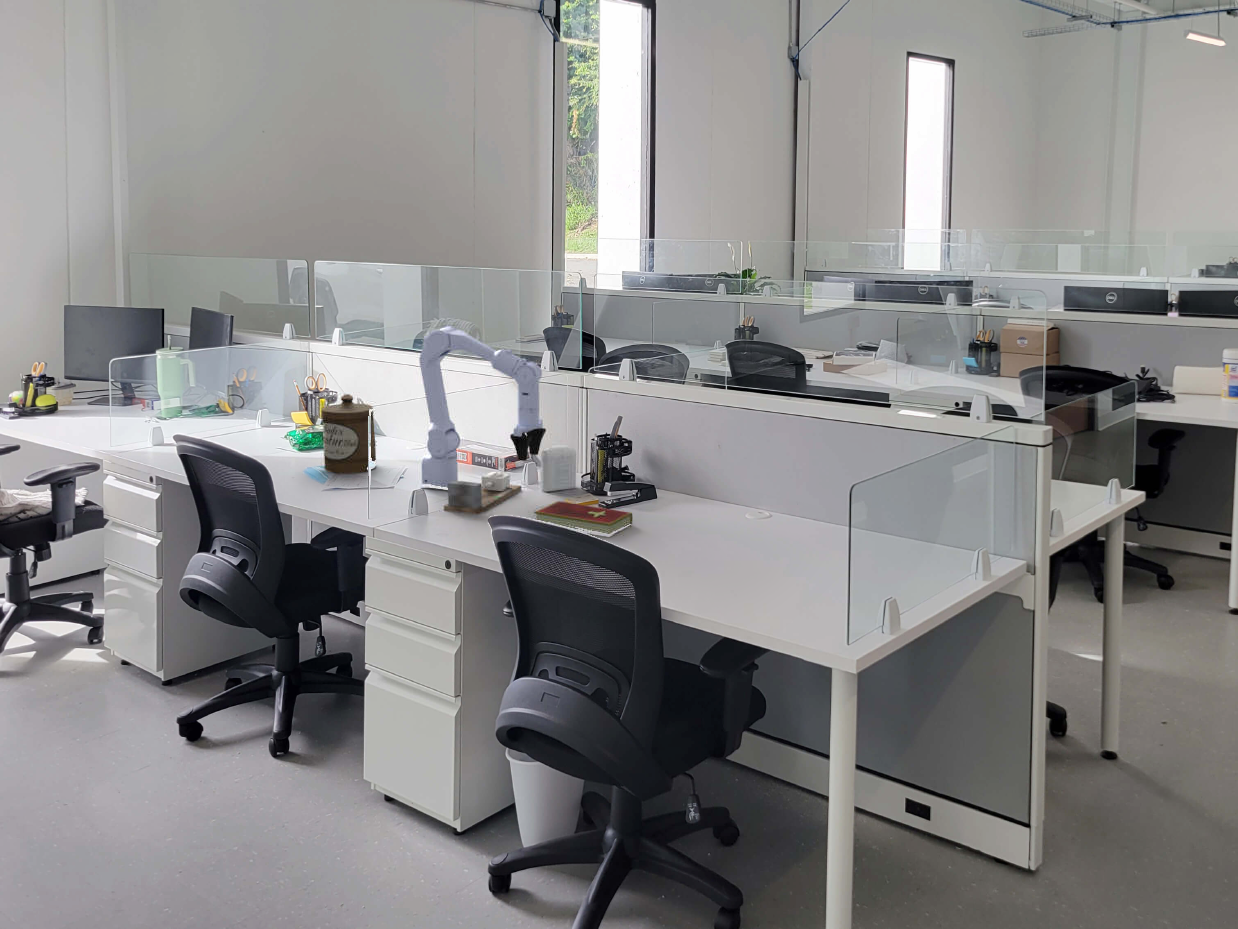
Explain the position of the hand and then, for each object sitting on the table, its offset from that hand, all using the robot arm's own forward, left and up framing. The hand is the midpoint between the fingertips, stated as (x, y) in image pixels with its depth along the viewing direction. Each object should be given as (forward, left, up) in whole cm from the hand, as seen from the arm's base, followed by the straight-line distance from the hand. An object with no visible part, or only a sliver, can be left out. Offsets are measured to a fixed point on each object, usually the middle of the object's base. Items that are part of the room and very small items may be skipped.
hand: (528, 457), depth 292 cm
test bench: (-8, -11, -10) cm, 17 cm away
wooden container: (-60, +6, -10) cm, 62 cm away
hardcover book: (+25, -23, -11) cm, 35 cm away
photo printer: (+6, +7, -10) cm, 14 cm away
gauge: (-7, -5, -8) cm, 12 cm away
